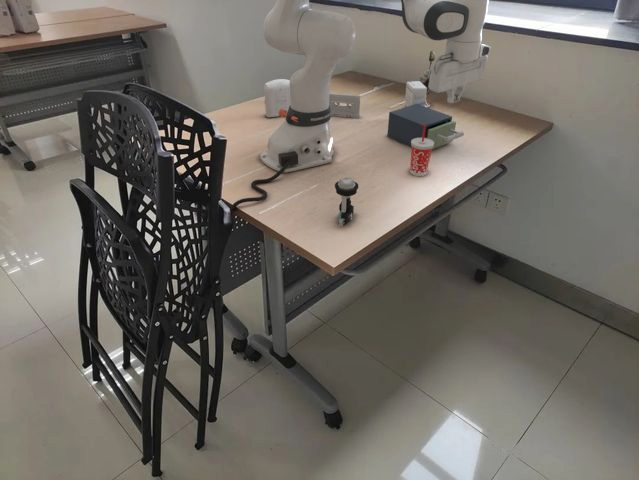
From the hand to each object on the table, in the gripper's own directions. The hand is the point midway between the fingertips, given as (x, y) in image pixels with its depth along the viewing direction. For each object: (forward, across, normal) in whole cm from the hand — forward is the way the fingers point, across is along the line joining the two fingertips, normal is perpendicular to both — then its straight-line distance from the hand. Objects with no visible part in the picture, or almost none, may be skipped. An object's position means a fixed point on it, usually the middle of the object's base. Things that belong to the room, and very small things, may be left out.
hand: (453, 101), depth 129 cm
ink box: (+15, +12, +24) cm, 31 cm away
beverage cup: (+15, -17, -5) cm, 23 cm away
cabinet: (+15, 0, +11) cm, 19 cm away
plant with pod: (+15, +25, +32) cm, 44 cm away
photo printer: (+15, -23, +56) cm, 63 cm away
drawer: (+14, 0, +6) cm, 15 cm away
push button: (+15, -49, -11) cm, 52 cm away
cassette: (+15, -6, +41) cm, 44 cm away
